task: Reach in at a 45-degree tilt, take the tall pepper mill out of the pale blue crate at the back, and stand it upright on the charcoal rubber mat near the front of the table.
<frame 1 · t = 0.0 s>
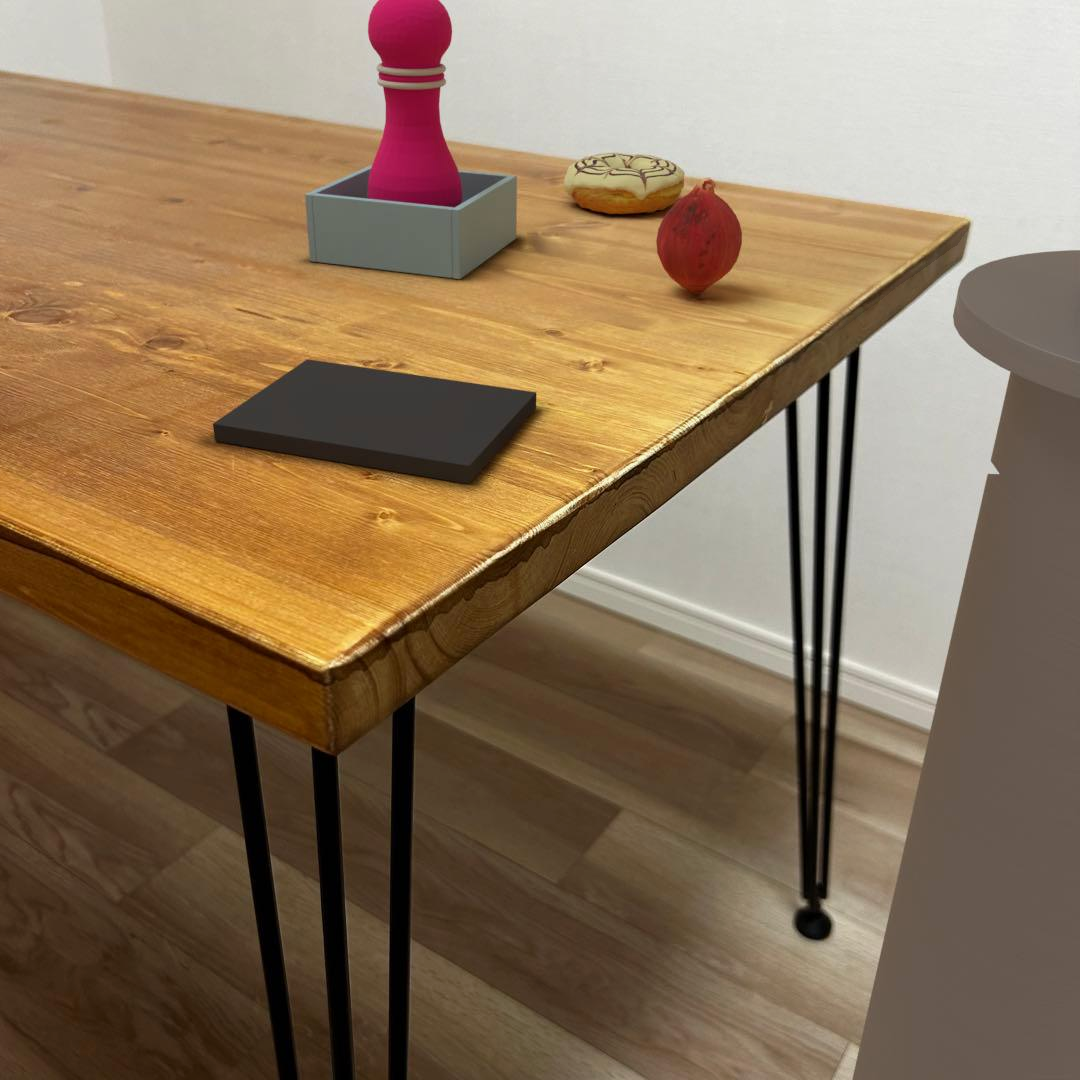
decorated donut: (622, 206, 108), on the table
mat: (381, 424, 63), on the table
pepper mill: (416, 251, 93), resting in crate
onion: (694, 296, 85), on the table
crate: (416, 249, 93), on the table
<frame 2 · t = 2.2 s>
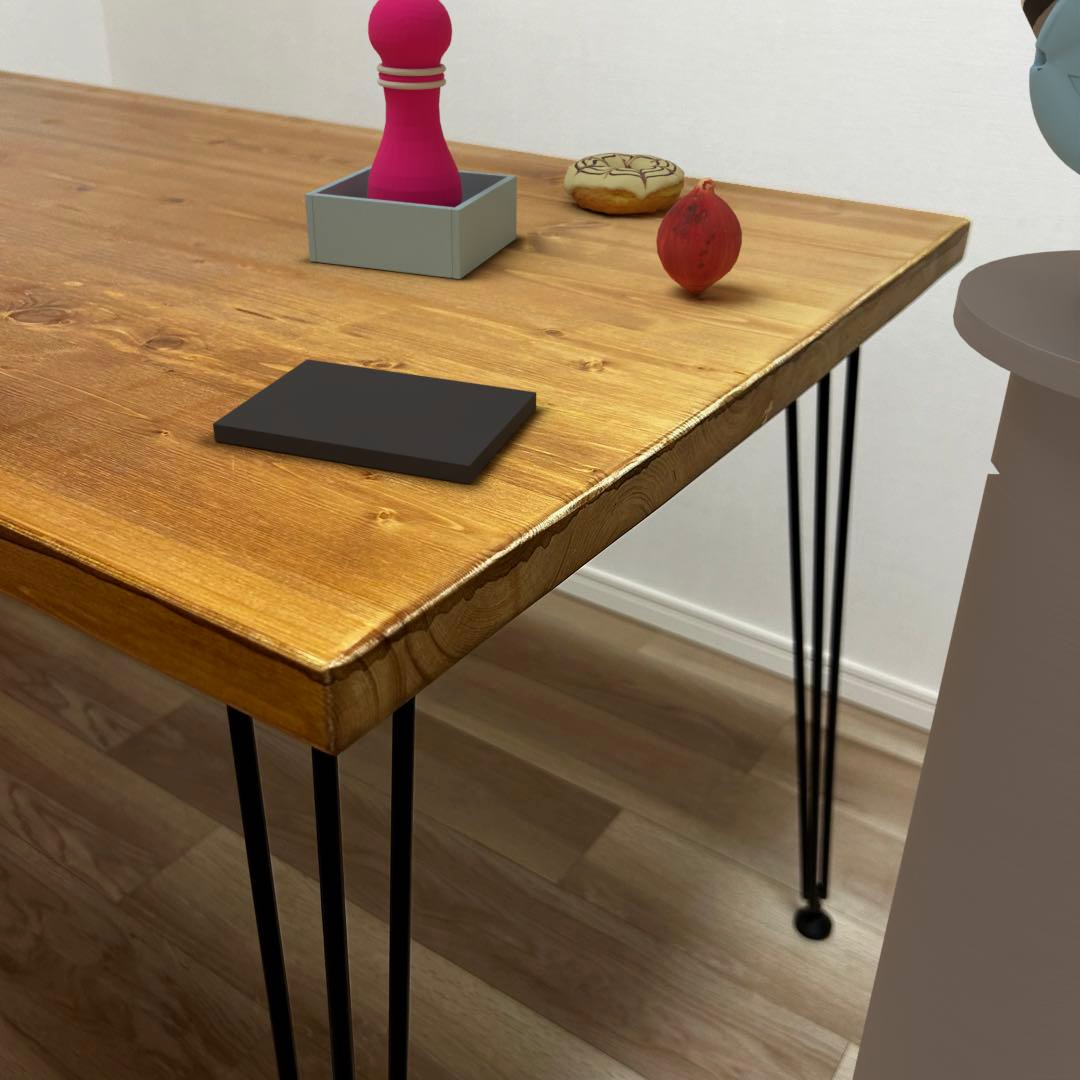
nothing on the table moved.
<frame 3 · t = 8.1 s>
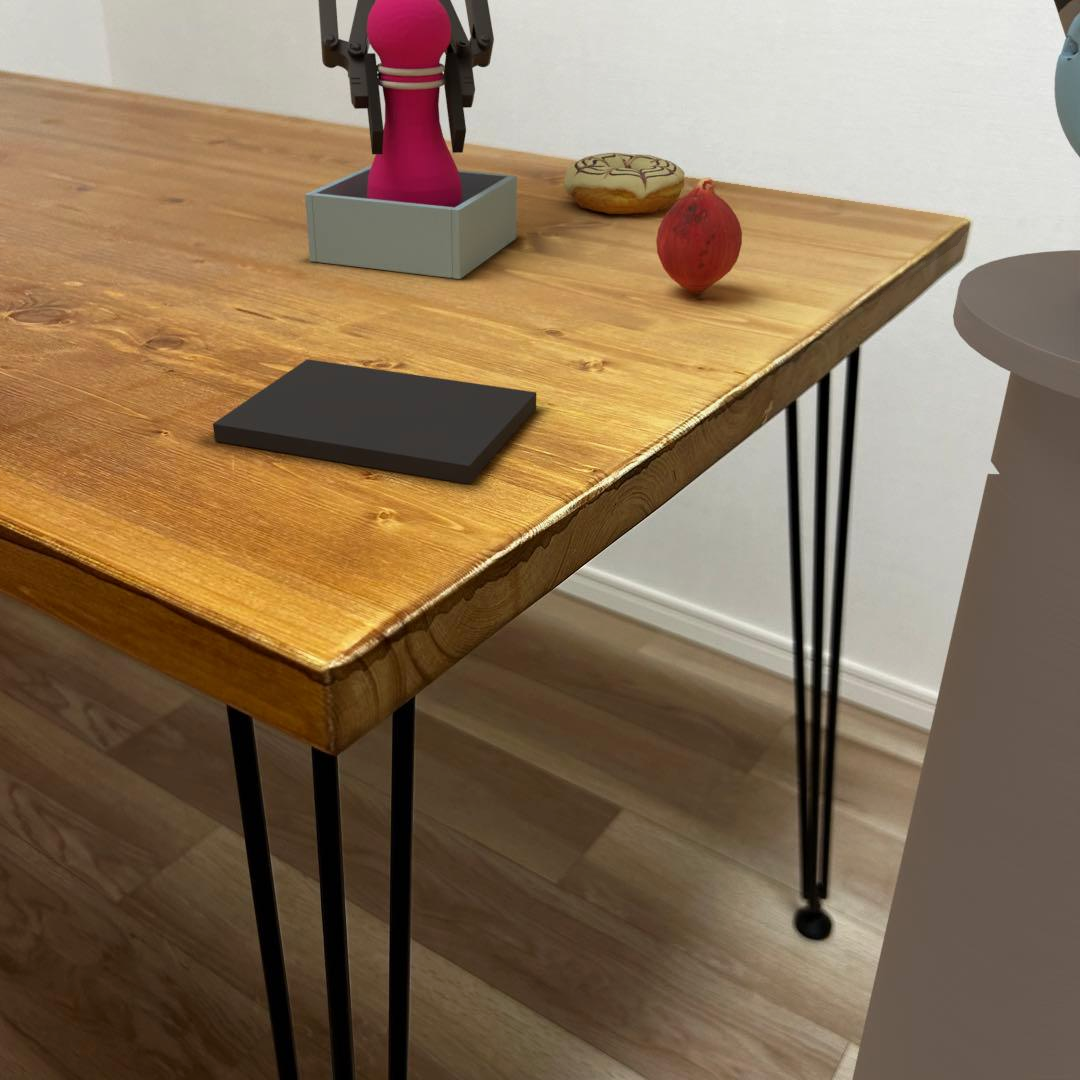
hand: (418, 141, 86), 9 cm above the table, tool tilted 45°, fingers closed on pepper mill, 5 cm apart
pepper mill: (416, 251, 93), resting in crate, touching gripper
everything else where it was.
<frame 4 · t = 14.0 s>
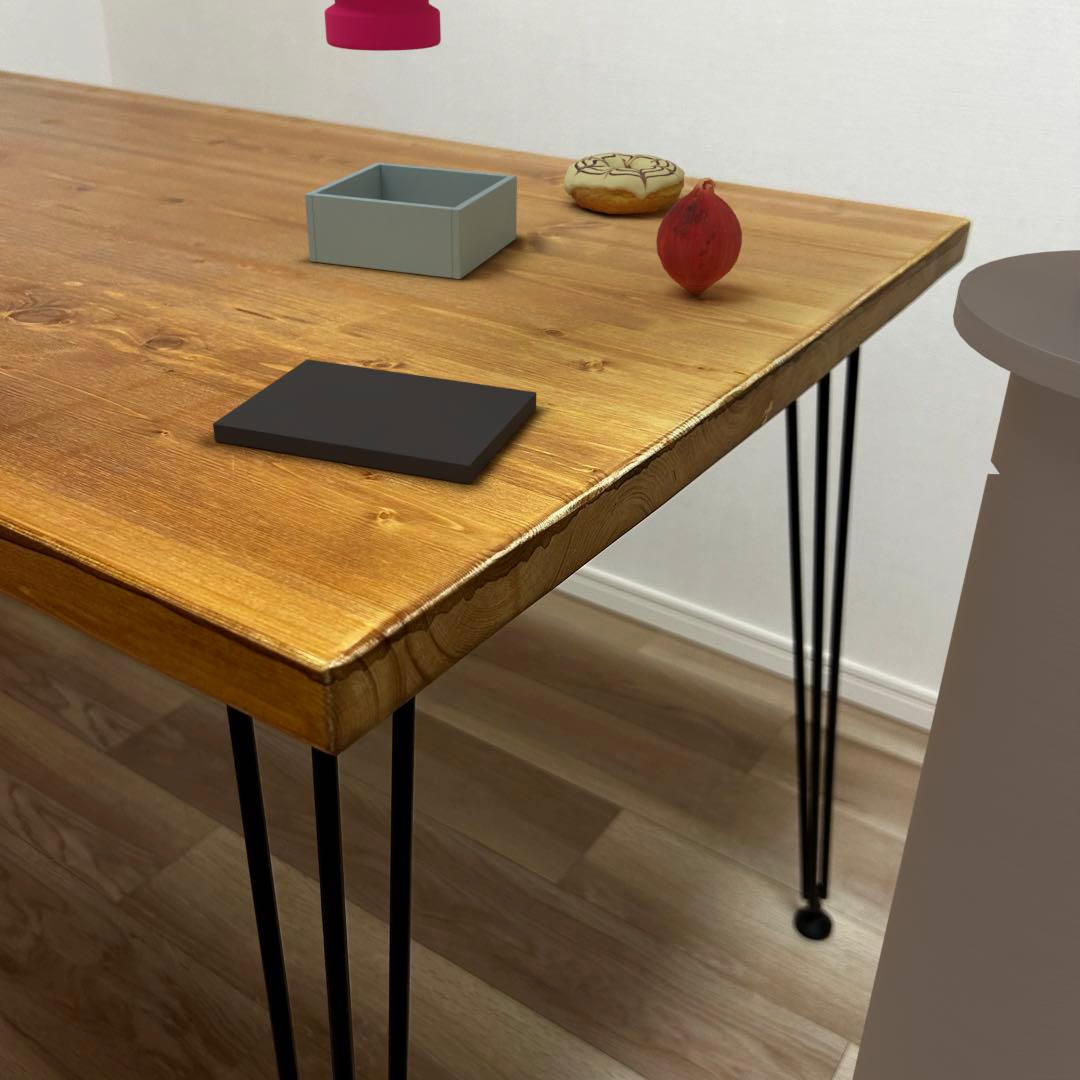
pepper mill: (384, 47, 66), point 17 cm above the table, touching gripper
everything else where it was.
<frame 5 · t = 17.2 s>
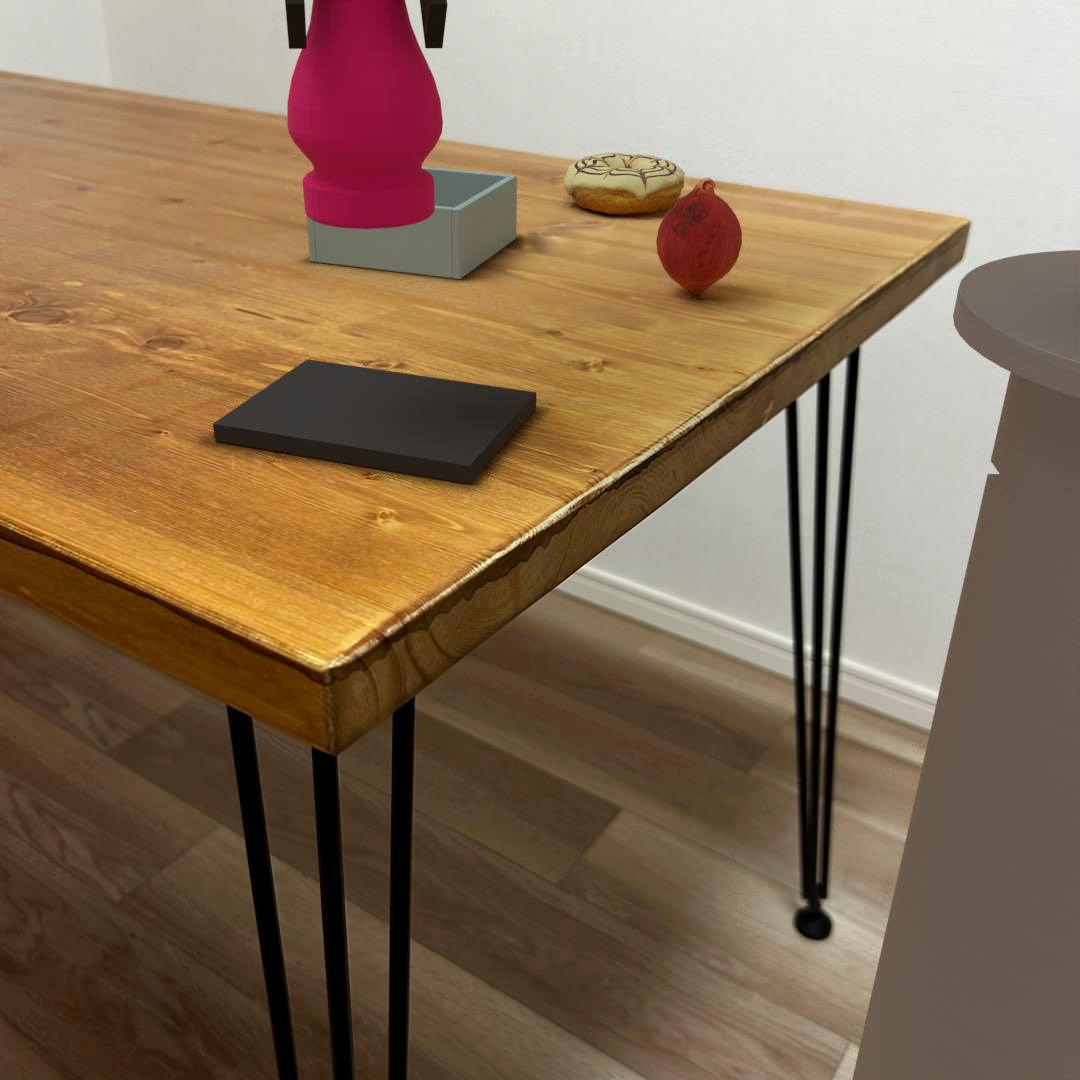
hand: (367, 26, 50), 20 cm above the table, tool tilted 45°, fingers closed on pepper mill, 5 cm apart
pepper mill: (370, 217, 58), point 11 cm above the table, touching gripper
everything else where it was.
when the fingers open (10 cm above the table, at t = 20.2 s): pepper mill stays where it is, resting on mat.
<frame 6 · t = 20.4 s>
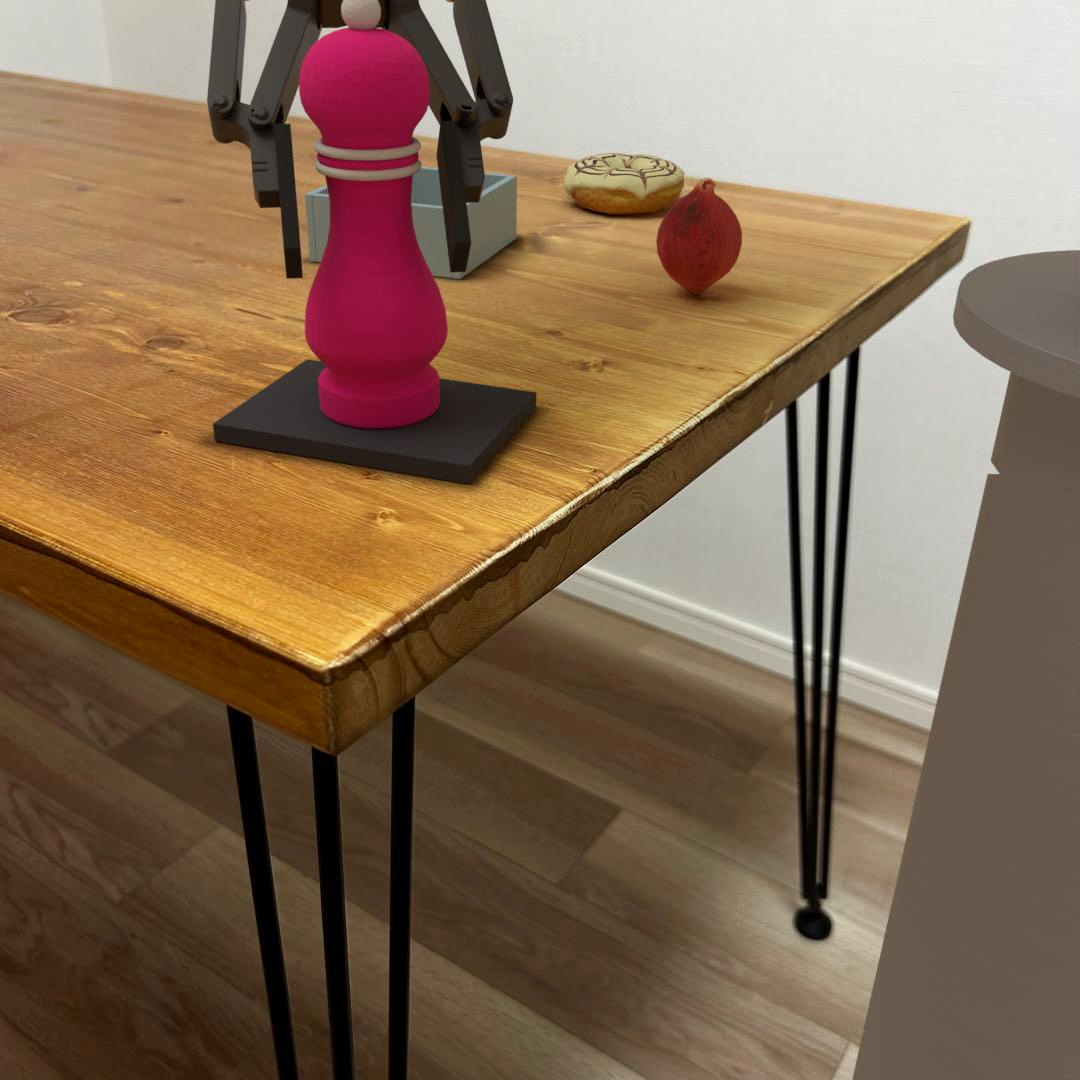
hand: (378, 260, 56), 10 cm above the table, tool tilted 45°, fingers open, 7 cm apart
pepper mill: (380, 409, 63), point 1 cm above the table, touching mat
everything else where it was.
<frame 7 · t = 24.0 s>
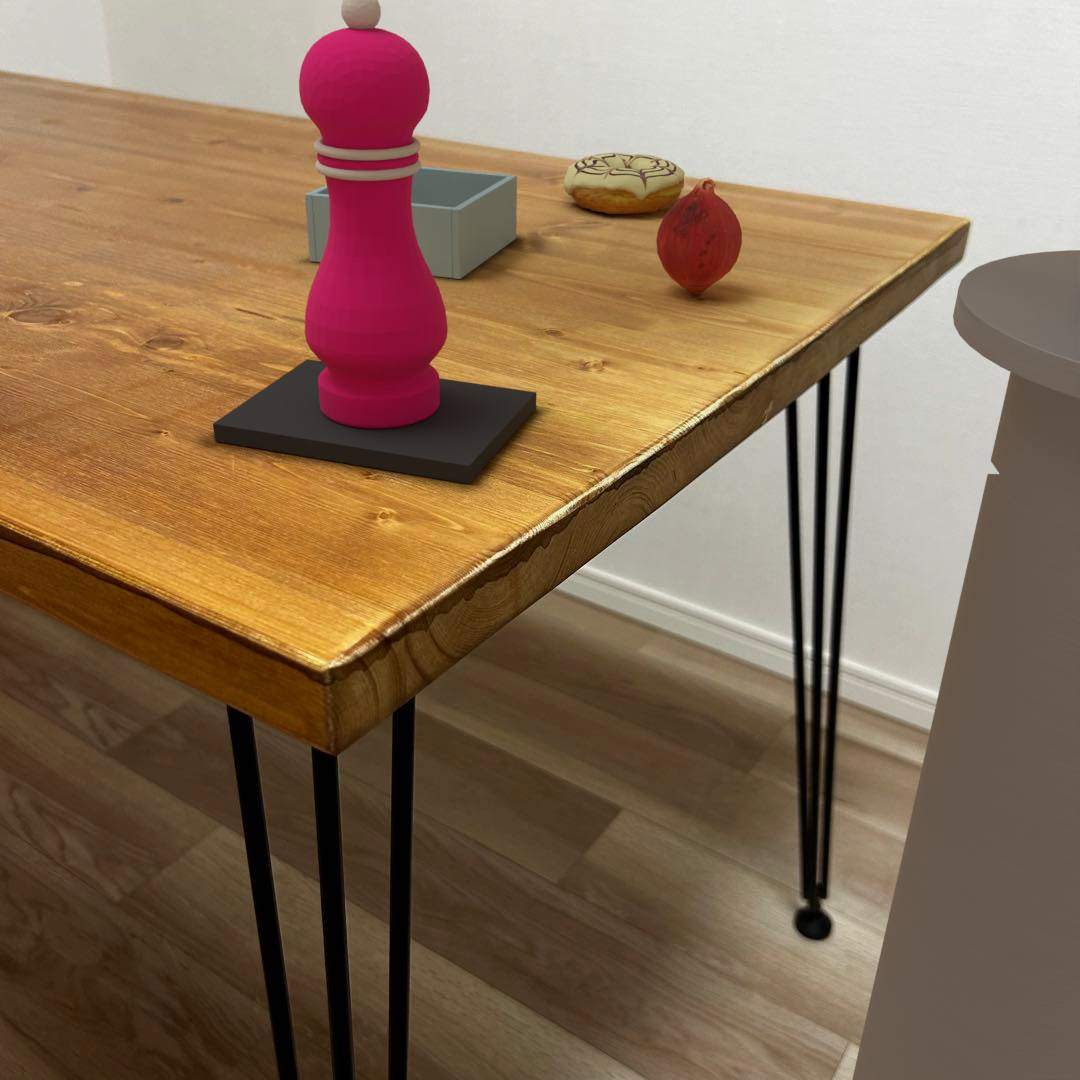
nothing on the table moved.
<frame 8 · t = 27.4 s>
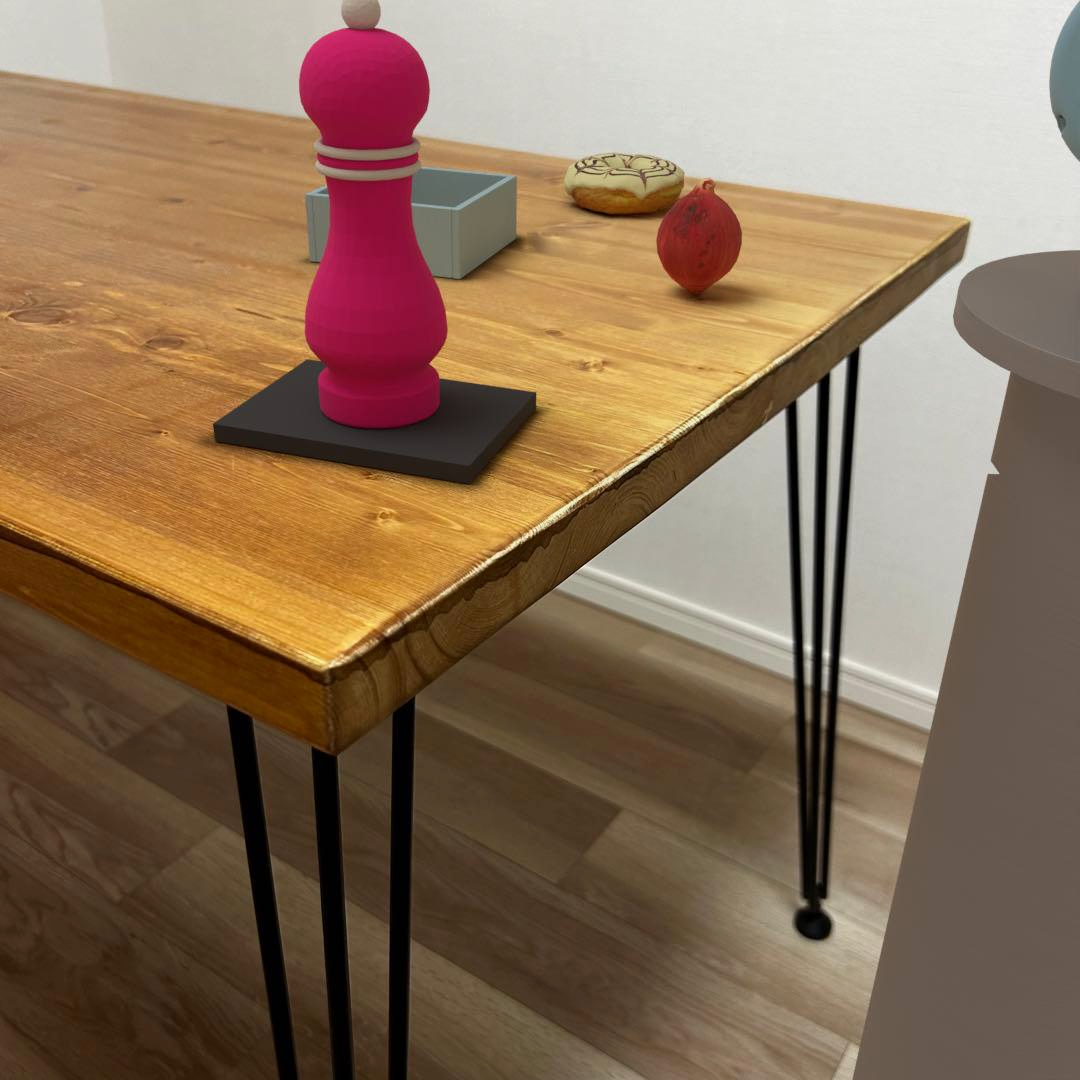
nothing on the table moved.
at the end: pepper mill inside the target area on the mat (0.1 cm from its centre), point 0.8 cm above the mat's base; pepper mill tilted 0°; the gripper is holding nothing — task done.
